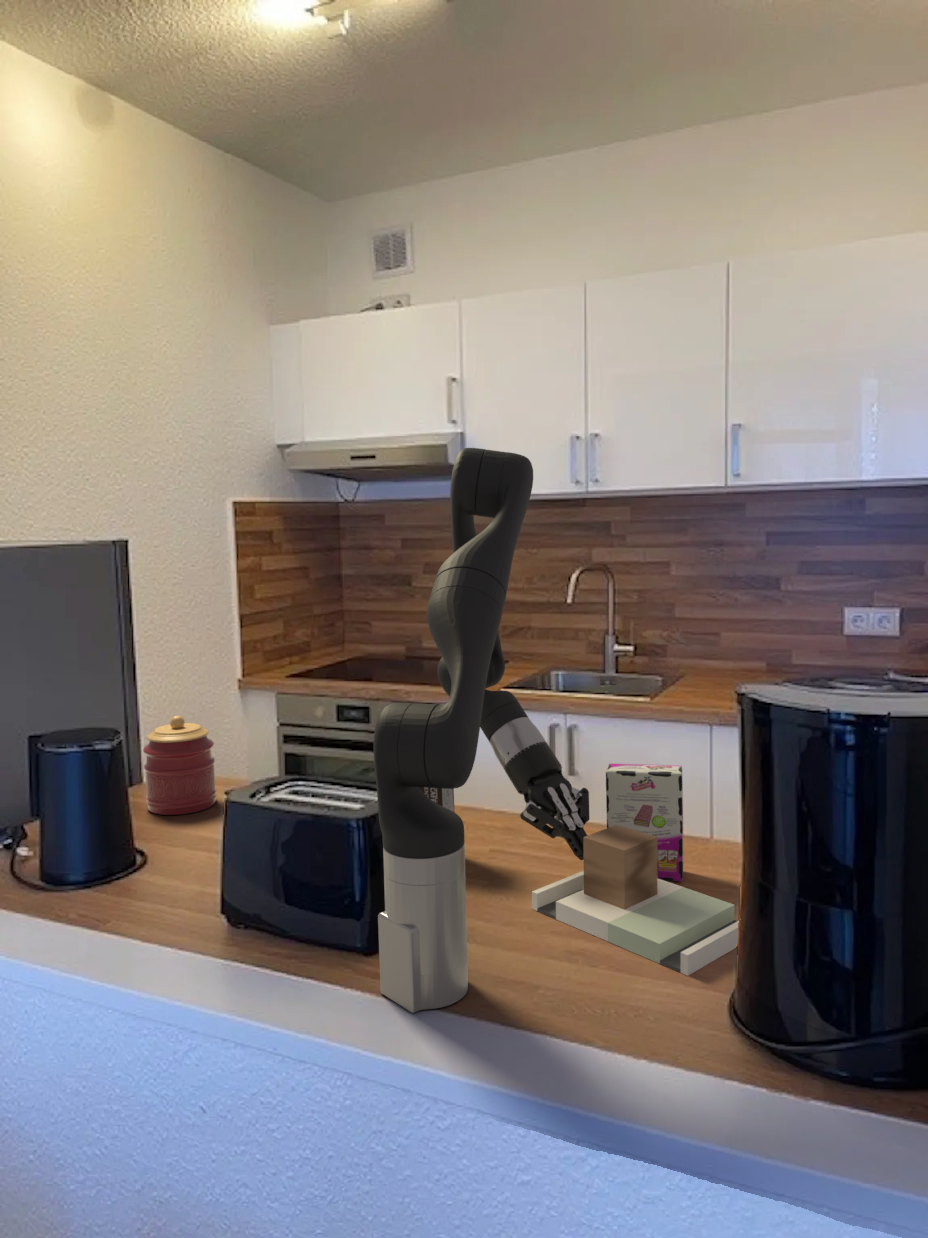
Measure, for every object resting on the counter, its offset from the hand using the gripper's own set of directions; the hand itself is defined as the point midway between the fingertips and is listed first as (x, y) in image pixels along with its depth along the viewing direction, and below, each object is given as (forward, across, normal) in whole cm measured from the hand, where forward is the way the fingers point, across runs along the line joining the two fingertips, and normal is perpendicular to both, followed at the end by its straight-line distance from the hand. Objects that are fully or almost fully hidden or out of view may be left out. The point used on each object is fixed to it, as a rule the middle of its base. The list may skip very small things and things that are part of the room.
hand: (588, 856), depth 127 cm
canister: (-54, -23, +64) cm, 87 cm away
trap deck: (+11, 0, -2) cm, 12 cm away
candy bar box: (+4, +13, +5) cm, 15 cm away
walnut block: (+7, 0, -1) cm, 7 cm away
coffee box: (-16, -7, +25) cm, 30 cm away
